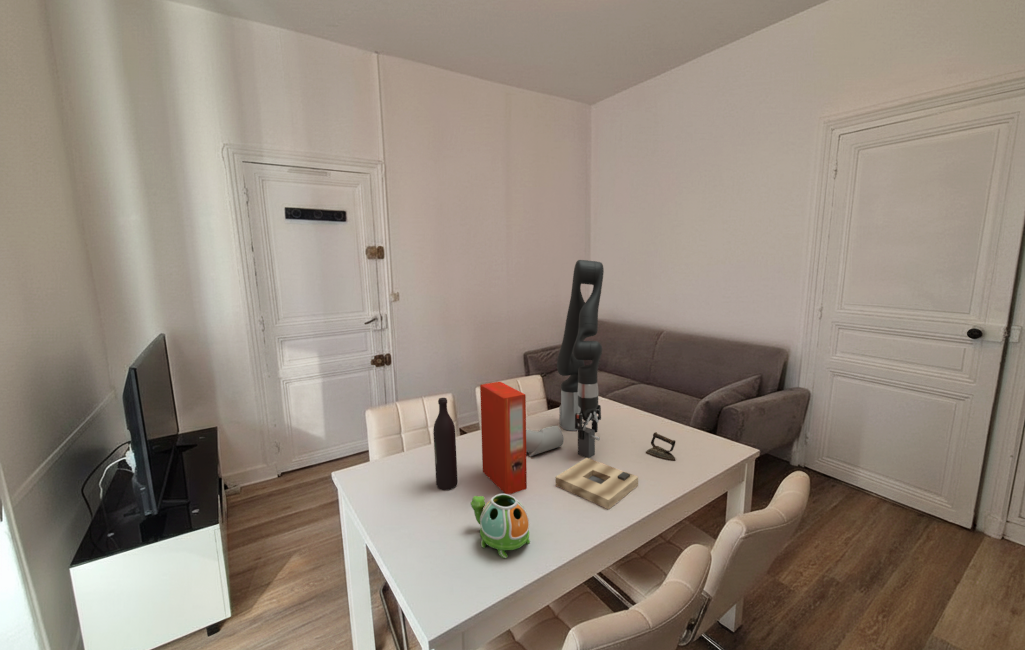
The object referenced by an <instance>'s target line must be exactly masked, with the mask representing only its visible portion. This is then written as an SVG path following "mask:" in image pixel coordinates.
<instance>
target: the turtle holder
mask: <svg viewBox="0 0 1025 650" xmlns="http://www.w3.org/2000/svg"><path fill="white" fill-rule="evenodd" d="M470 506H471V509H472V510H473V512H474V516H475V520H476V521H477V523H478V524H479V525H480V530H479V535H480V538H481V542H480V546H481V548H483V549H485V548H486V547H487V546H489V547H490V548H493V549H496V550H497V553H498V555H499V557H500V558H501V559H507V558H508V554H507V552H506V551H513V550H518V549H519V548H521V547H522V546H524V545H526V544H530V543H531V541H530V539H529V538H530V530H529V529H530V518H529V515H528V512H527V510H526V508H525V506H524V505H523V504H522V503H521V502H520V501H519V500H518V499H517V498H516V497H514V496H513V495H512V494H509V495H508V494H504V493H497V494H496V495H493V496H492V497H491V498H490V500H489V501H487V503H486V502H485V497H484V496H483V495H479V496H478V495H474V496H473V497H472V499H471V502H470Z"/></svg>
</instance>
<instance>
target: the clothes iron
mask: <svg viewBox="0 0 1025 650" xmlns="http://www.w3.org/2000/svg"><path fill="white" fill-rule="evenodd" d="M656 439H658V440H661V441H663V442H665V443H667V444H669V445H671V447H670V449H669V450H667V449H665V448H664V447H661V446H659V445H656V444H655V440H656ZM650 445H651V446H652V447H651V448H649V449H647V450H646V451H645V454H647V455H648V456H651V457H652V458H653V457H654V458H656V459H660V460H665V461H668V462H669V461H670V462H676V457H675V456H674V455H673V454H672V453H671V452H673V450H674V448H675V446H676V440H674V439H671V438H668V437H666V436H664V435H661V434H659V433H658V432H656V431H655V432H653V434H652V439H651V442H650Z"/></svg>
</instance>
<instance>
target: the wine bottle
mask: <svg viewBox="0 0 1025 650" xmlns="http://www.w3.org/2000/svg"><path fill="white" fill-rule="evenodd" d="M437 402H438V403H437V404H438V415H437V418H436V419H435V421H434V424H433V428H432V429H433V432H432V433H433V448H434V450H433V451H434V466H435V467H434V468H435V484H436V487H437V489H438V490H441V491H449V490H453V489H455V488H456V487H457V486H458V465H457V464H458V462H457V460H458V459H457V442H456V440H457V439H456V427H455V424H454V420H453V418H452V417H451V415H450V414H449V411H448V399H447V397H439V398H438V401H437Z"/></svg>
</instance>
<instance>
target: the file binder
mask: <svg viewBox="0 0 1025 650" xmlns="http://www.w3.org/2000/svg"><path fill="white" fill-rule="evenodd" d="M479 389H480V423H481V424H480V425H481V427H480V429H481V460H482V461H481V463H482V466H481V467H482V473H484V475H485V476H486V477H487V478H488V479H489V480H490V481H492V483H494V484H495V486H497V488H498V489H499V490H500V491H501V492H502V494H508V495H513V494H515V493H519V492H520V491H524V490H526V489H527V488H528V487H527V486H528V483H527V477H528V476H527V475H528V473H527V452H526V430H527V408H526V407H527V406H526V405H527V403H526V402H527V401H526V399H527V395H526V393H523V392H521V391H519V390H517V388H514V387H512V386H510V385H507V384H506V383H504V382H502V381H495V382H489V383H483V384H480V385H479Z"/></svg>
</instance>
